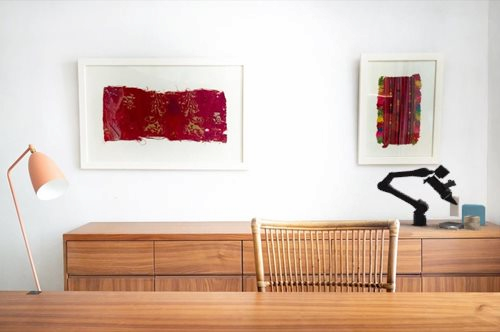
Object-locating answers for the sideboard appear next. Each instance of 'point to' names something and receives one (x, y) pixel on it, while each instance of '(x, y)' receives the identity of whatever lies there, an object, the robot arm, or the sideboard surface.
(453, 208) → the cream block
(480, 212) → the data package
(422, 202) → the robot arm
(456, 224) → the tray
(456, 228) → the cylinder
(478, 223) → the birch block
